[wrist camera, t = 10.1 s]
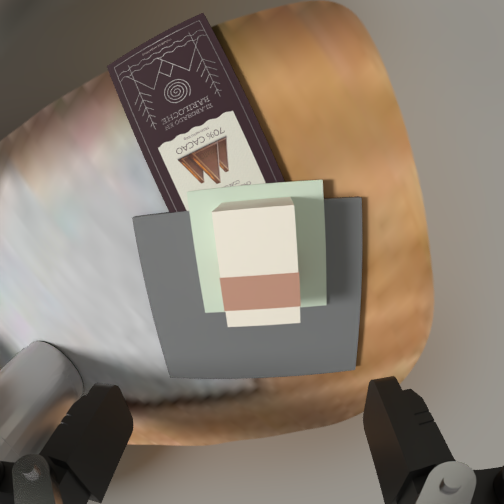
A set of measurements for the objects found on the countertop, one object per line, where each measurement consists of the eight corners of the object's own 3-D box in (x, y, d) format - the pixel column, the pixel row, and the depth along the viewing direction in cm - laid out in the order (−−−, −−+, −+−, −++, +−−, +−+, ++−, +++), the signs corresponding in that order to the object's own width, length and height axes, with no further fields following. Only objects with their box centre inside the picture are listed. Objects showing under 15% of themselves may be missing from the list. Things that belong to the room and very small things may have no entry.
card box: (221, 202, 23) (210, 212, 19) (290, 196, 22) (294, 205, 18) (233, 301, 25) (227, 327, 21) (297, 297, 25) (301, 323, 21)
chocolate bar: (203, 12, 18) (298, 213, 23) (205, 17, 19) (297, 211, 24) (106, 66, 20) (192, 258, 25) (112, 68, 21) (194, 254, 25)
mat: (171, 373, 29) (169, 379, 28) (132, 198, 24) (127, 200, 23) (353, 366, 27) (355, 371, 26) (358, 177, 22) (361, 178, 21)
